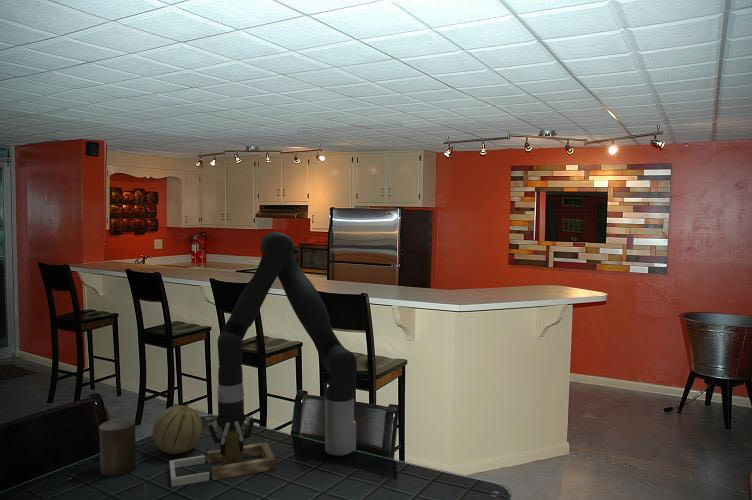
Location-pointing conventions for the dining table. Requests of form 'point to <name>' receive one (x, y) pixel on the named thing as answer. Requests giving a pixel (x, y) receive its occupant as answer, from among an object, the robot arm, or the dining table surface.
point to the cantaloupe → (177, 429)
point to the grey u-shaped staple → (188, 478)
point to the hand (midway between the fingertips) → (231, 453)
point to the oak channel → (243, 467)
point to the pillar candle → (117, 447)
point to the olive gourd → (232, 448)
